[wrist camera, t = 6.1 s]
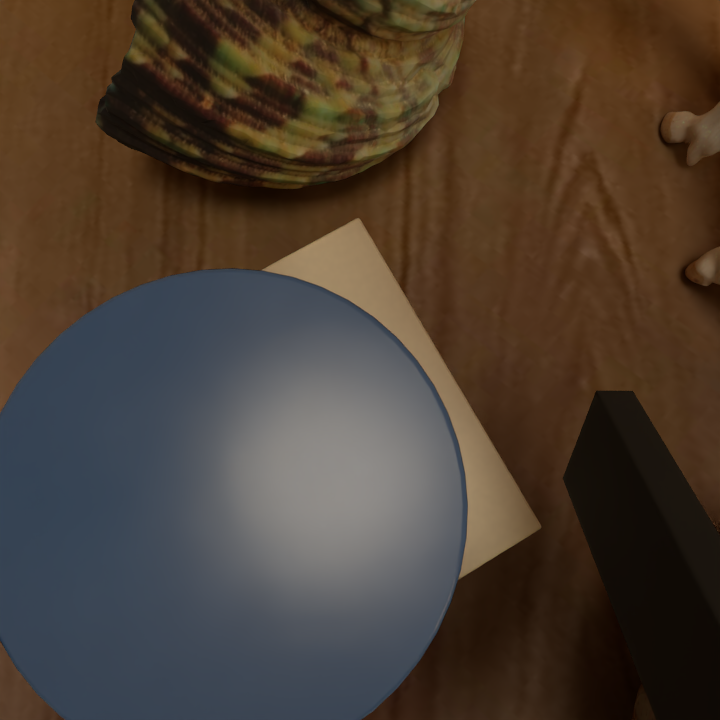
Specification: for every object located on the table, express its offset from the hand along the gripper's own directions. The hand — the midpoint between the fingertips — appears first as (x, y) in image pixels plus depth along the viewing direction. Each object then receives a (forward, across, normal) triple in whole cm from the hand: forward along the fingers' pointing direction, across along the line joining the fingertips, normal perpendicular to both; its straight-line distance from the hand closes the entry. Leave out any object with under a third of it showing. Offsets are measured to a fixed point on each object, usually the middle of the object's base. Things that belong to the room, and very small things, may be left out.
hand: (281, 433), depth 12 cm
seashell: (+16, 0, +3) cm, 16 cm away
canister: (+3, 0, -4) cm, 5 cm away
